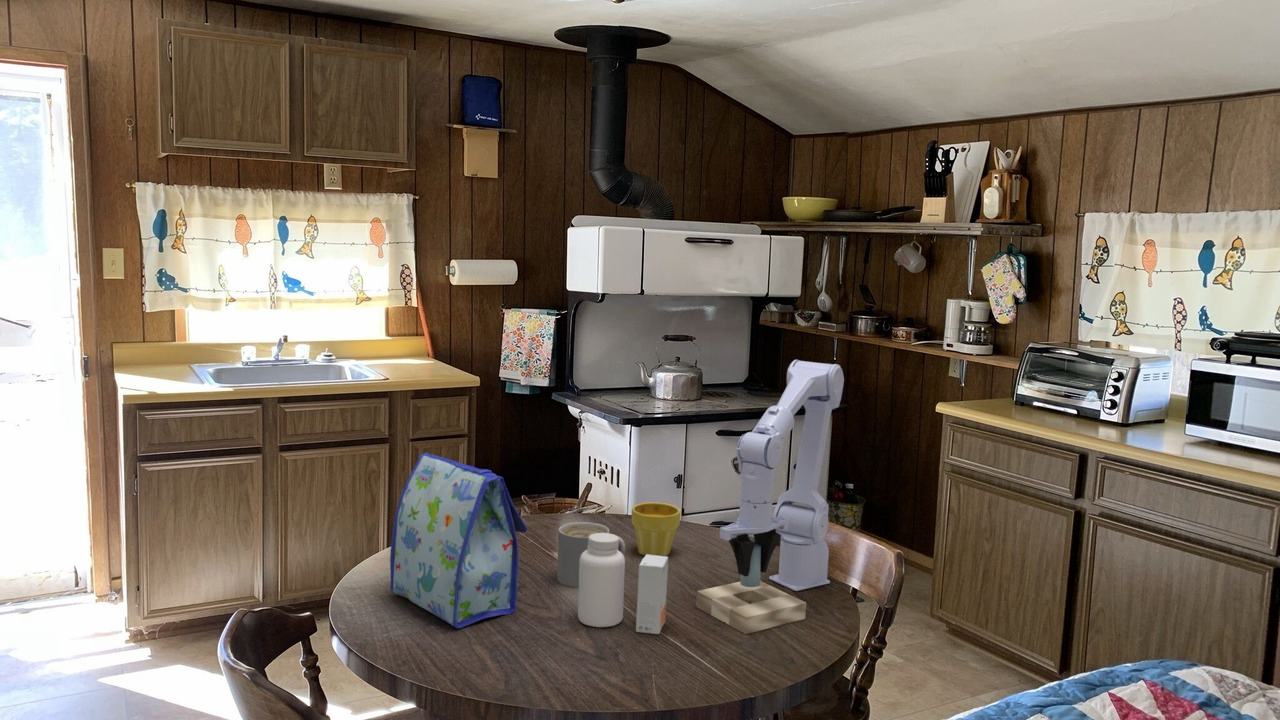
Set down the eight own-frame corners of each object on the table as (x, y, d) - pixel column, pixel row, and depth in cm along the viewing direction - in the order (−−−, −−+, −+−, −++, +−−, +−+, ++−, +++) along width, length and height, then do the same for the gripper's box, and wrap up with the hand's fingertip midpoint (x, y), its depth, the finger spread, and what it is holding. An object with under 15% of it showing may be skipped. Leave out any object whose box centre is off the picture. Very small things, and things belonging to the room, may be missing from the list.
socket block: (754, 593, 183) (755, 578, 183) (805, 618, 172) (806, 602, 172) (696, 606, 176) (696, 591, 175) (745, 634, 164) (746, 617, 164)
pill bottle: (629, 615, 171) (632, 533, 169) (613, 631, 163) (616, 546, 161) (588, 607, 173) (590, 527, 171) (570, 624, 166) (572, 540, 164)
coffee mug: (557, 588, 182) (559, 537, 181) (556, 570, 192) (557, 521, 191) (627, 587, 184) (629, 537, 183) (622, 570, 194) (624, 522, 192)
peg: (752, 579, 176) (752, 542, 175) (764, 585, 173) (765, 547, 172) (736, 582, 174) (736, 545, 173) (748, 588, 171) (749, 550, 170)
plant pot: (679, 562, 200) (681, 516, 198) (629, 560, 200) (631, 514, 199) (677, 546, 210) (679, 502, 209) (630, 544, 210) (632, 501, 209)
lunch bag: (531, 609, 172) (534, 467, 168) (454, 634, 160) (456, 482, 156) (456, 576, 187) (458, 445, 183) (381, 597, 175) (382, 457, 171)
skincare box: (659, 635, 162) (662, 567, 161) (635, 632, 163) (637, 564, 162) (666, 621, 168) (669, 556, 167) (642, 618, 169) (645, 553, 168)
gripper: (771, 489, 178) (767, 559, 180) (710, 498, 170) (706, 572, 172) (797, 498, 173) (793, 571, 174) (735, 508, 165) (731, 584, 166)
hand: (752, 572), depth 173 cm, fingers closed on peg, 4 cm apart
